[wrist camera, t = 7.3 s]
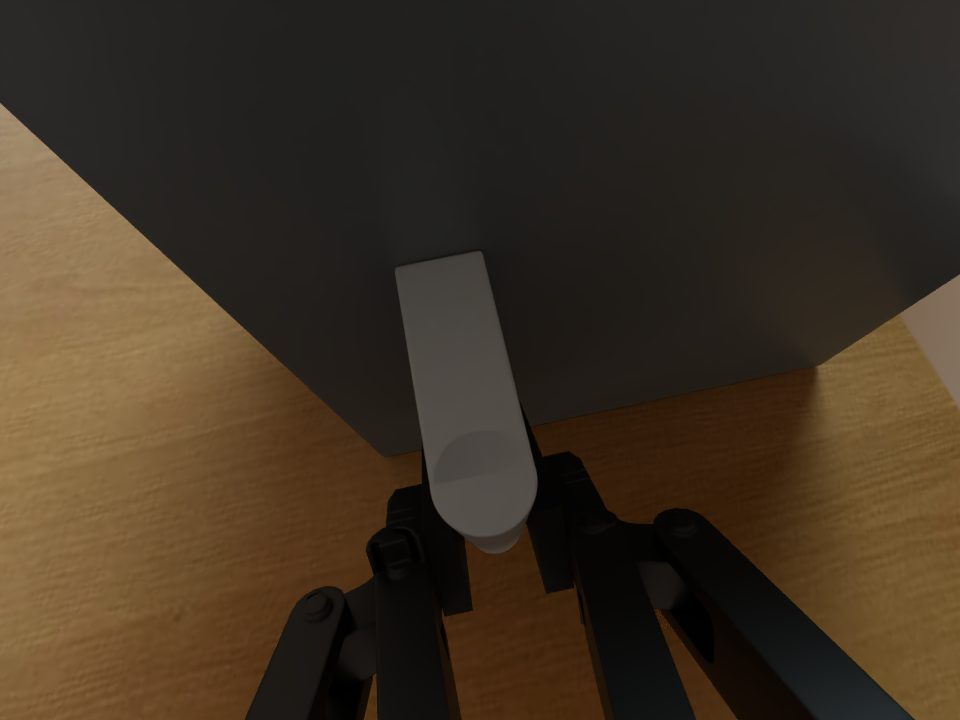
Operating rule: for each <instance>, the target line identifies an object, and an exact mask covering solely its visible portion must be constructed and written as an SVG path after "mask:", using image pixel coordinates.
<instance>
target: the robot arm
mask: <svg viewBox="0 0 960 720" xmlns="http://www.w3.org/2000/svg"><path fill="white" fill-rule="evenodd" d="M518 399H519V398H518ZM519 403H520V400H519ZM520 407H521V411H522V415H523V419H524V423H525V427H526V432H527V436H528V440H529V444H530V448H531V452H532V456H533V460H534V464H535V468H536V472H537V481H538V485H537V493H536V498H535V500H534V503H533V506H532V508H531V511H530V513H529V515H528V518H527V520H526V525H527V528H528V532H529V535H530V539H531V542H532V546H533V549H534V553H535V556H536V560H537V563H538V566H539V570H540V573H541V577H542V580H543V584H544V587H545V591H546V594H549V593H553V592H558V591H562V590H567V589H571V588H574V583H573V579H574V582H575V585H576V588H577V595H578V603H579V610H580V617H581V624H583V625H584V629H585V634H586V638H587V643H588V647H589V652H590V656H591V660H592V665H593V669H594V674H595V678H596V683H597V687H598V691H599V696H600V700H601V705H602V709H603V714H604V718H605V720H696V718H695V715H694V713H693V710H692V708H691V705H690V702H689V700H688V697H687V695H686V692H685V689H684V687H683V684H682V682H681V679H680V676H679V674H678V671H677V669H676V666H675V663H674V661H673V658H672V656H671V653H670V650H669V648H668V645H667V643H666V640H665V637H664V635H663V632H662V630H661V627H660V624H659V622H658V619H657V617H656V614H655V611H654V609H653V608H655V609H660V611H661V613H662V614H663V616H664V617H665V619H666V620H667V621H668V623H669V624H670V625H671V627H672V628H673V630H674V631H675V632H676V634H677V635H678V637H679V638H680V639H681V641H682V642H683V644H684V645H685V646H686V648H687V649H688V651H689V652H690V653H691V655H692V656H693V658H694V659H695V660H696V662H697V663H698V665H699V666H700V667H701V669H702V670H703V672H704V673H705V674H706V676H707V677H708V679H709V680H710V681H711V683H712V684H713V686H714V687H715V688H716V690H717V691H718V692H719V694H720V695H721V697H722V698H723V699H724V701H725V702H726V704H727V705H728V706H729V708H730V709H731V711H732V712H733V713H734V715H735V716H736V718H737V719H738V720H915V719H914V718H912V717H911V716H910V715H909V714H908V713H907V712H906V711H905V710H904V709H903V708H902V707H901V706H900V705H899V704H898V703H897V702H896V701H895V700H894V699H893V698H892V697H891V696H890V695H889V694H888V693H886V692H885V691H884V690H883V689H882V688H881V687H880V686H879V685H878V684H877V683H876V682H875V681H874V680H873V679H872V678H871V677H870V676H869V675H868V674H867V673H866V672H865V671H864V670H863V669H862V668H861V667H859V666H858V665H857V664H856V663H855V662H854V661H853V660H852V659H851V658H850V657H849V656H848V655H847V654H846V653H845V652H844V651H843V650H842V649H841V648H840V647H839V646H838V645H837V644H836V643H835V642H833V641H832V640H831V639H830V638H829V637H828V636H827V635H826V634H825V633H824V632H823V631H822V630H821V629H820V628H819V627H818V626H817V625H816V624H815V623H814V622H813V621H812V620H811V619H810V618H809V617H808V616H806V615H805V614H804V613H803V612H802V611H801V610H800V609H799V608H798V607H797V606H796V605H795V604H794V603H793V602H792V601H791V600H790V599H789V598H788V597H787V596H786V595H785V594H784V593H783V592H782V591H781V590H779V589H778V588H777V587H776V586H775V585H774V584H773V583H772V582H771V581H770V580H769V579H768V578H767V577H766V576H765V575H764V574H763V573H762V572H761V571H760V570H759V569H758V568H757V567H756V566H755V565H753V564H752V563H751V562H750V561H749V560H748V559H747V558H746V557H745V556H744V555H743V554H742V553H741V552H740V551H739V550H738V549H737V548H736V547H735V546H734V545H733V544H732V543H731V542H730V541H729V540H728V539H726V538H725V537H724V536H723V535H722V534H721V533H720V532H719V531H718V530H717V529H716V528H715V527H714V526H713V525H712V524H711V523H710V522H709V521H708V520H707V519H706V518H704V517H703V516H701V515H700V514H699V513H697V512H694V511H691V510H688V509H679V508H674V509H669V510H665V511H663V512H661V513H659V514H658V515H657V517H656V518H655V519H654V524H634V523H628V522H624V521H621V520H619V519H618V518H617V516H616V515H615V514H614V513H612V512H610V511H609V510H607V509H606V507H605V505H604V503H603V501H602V499H601V497H600V495H599V494H598V492H597V490H596V488H595V486H594V484H593V482H592V480H591V479H590V477H589V475H588V473H587V471H586V469H585V467H584V465H583V463H582V461H581V460H580V458H578V457H577V456H575V455H574V454H572V453H571V452H569V451H568V452H563V453H558V454H554V455H549V456H544V457H542V454H541V452H540V449H539V447H538V445H537V442H536V440H535V437H534V435H533V432H532V430H531V427H530V425H529V422H528V420H527V417H526V415H525V413H524V410H523V408H522V405H521V403H520ZM366 553H367V556H368V559H369V562H370V565H371V568H372V571H373V573H374V576H373V577H372V578H371V579H370V580H369V581H367V582H366V583H365V584H363V585H361V586H360V587H358V588H356V589H354V590H352V591H349V592H347V593H345V594H343V592H342V590H340V589H338V588H337V587H331V586H325V587H321V588H318V589H315V590H313V591H311V592H309V593H308V594H306V595H305V596H304V597H303V598H301V599H300V600H299V601H298V602H297V603H296V605H295V607H294V608H293V610H292V611H291V614H290V616H289V618H288V621H287V623H286V625H285V627H284V630H283V632H282V634H281V637H280V639H279V641H278V644H277V646H276V648H275V650H274V653H273V655H272V657H271V660H270V662H269V664H268V667H267V669H266V671H265V674H264V676H263V678H262V680H261V683H260V685H259V687H258V690H257V692H256V694H255V697H254V699H253V701H252V704H251V706H250V708H249V710H248V713H247V715H246V717H245V720H364V716H365V711H366V707H367V703H368V698H369V694H370V689H371V685H372V681H373V675H374V674H376V673H377V714H378V720H461V714H460V708H459V703H458V697H457V691H456V686H455V680H454V674H453V669H452V663H451V657H450V652H449V646H448V640H447V635H446V631H445V627H444V623H443V620H442V609H443V613H444V616H445V617H446V616H451V615H455V614H460V613H464V612H468V611H473V609H472V600H471V591H470V583H469V574H468V566H467V557H466V548H465V540H464V536H462V535H461V534H460V533H459V532H457V531H456V530H455V529H454V528H452V527H451V526H450V525H449V524H447V523H446V521H445V520H444V519H443V518H442V517H441V516H440V514H439V513H438V511H437V509H436V507H435V505H434V503H433V500H432V496H431V492H430V484H429V478H428V472H427V466H426V460H425V454H424V448H423V441H422V484H419V485H415V486H410V487H405V488H401V489H396V490H395V491H394V493H393V494H392V496H391V497H390V499H389V501H388V507H387V518H386V527H385V528H383V529H381V530H380V531H378V532H377V533H376V534H374V535H373V536H372V537H371V539H370V540H369V541H368V543H367V547H366Z"/></svg>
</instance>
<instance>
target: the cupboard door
mask: <svg viewBox="0 0 960 720" xmlns="http://www.w3.org/2000/svg"><path fill="white" fill-rule="evenodd" d="M0 103H1V104H2V105H3V106H4V107H5V108H6V109H7V110H8V111H10V112H11V113H12V114H13V115H14V116H15V117H16V118H17V119H18V120H19V121H20V122H21V123H23V124H24V125H25V126H26V127H27V128H28V129H29V130H30V131H31V132H32V133H33V134H34V135H36V136H37V137H38V138H39V139H40V140H41V141H42V142H43V143H44V144H45V145H46V146H47V147H49V148H50V149H51V150H52V151H53V152H54V153H55V154H56V155H57V156H58V157H59V158H60V159H62V160H63V161H64V162H65V163H66V164H67V165H68V166H69V167H70V168H71V169H72V170H73V171H74V172H76V173H77V174H78V175H79V176H80V177H81V178H82V179H83V180H84V181H85V182H86V183H87V184H89V185H90V186H91V187H92V188H93V189H94V190H95V191H96V192H97V193H98V194H99V195H100V196H102V197H103V198H104V199H105V200H106V201H107V202H108V203H109V204H110V205H111V206H112V207H113V208H115V209H116V210H117V211H118V212H119V213H120V214H121V215H122V216H123V217H124V218H125V219H126V220H128V221H129V222H130V223H131V224H132V225H133V226H134V227H135V228H136V229H137V230H138V231H139V232H141V233H142V234H143V235H144V236H145V237H146V238H147V239H148V240H149V241H150V242H151V243H152V244H153V245H155V246H156V247H157V248H158V249H159V250H160V251H161V252H162V253H163V254H164V255H165V256H166V257H168V258H169V259H170V260H171V261H172V262H173V263H174V264H175V265H176V266H177V267H178V268H179V269H181V270H182V271H183V272H184V273H185V274H186V275H187V276H188V277H189V278H190V279H191V280H192V281H194V282H195V283H196V284H197V285H198V286H199V287H200V288H201V289H202V290H203V291H204V292H205V293H207V294H208V295H209V296H210V297H211V298H212V299H213V300H214V301H215V302H216V303H217V304H218V305H220V306H221V307H222V308H223V309H224V310H225V311H226V312H227V313H228V314H229V315H230V316H231V317H232V318H234V319H235V320H236V321H237V322H238V323H239V324H240V325H241V326H242V327H243V328H244V329H245V330H247V331H248V332H249V333H250V334H251V335H252V336H253V337H254V338H255V339H256V340H257V341H258V342H260V343H261V344H262V345H263V346H264V347H265V348H266V349H267V350H268V351H269V352H270V353H271V354H273V355H274V356H275V357H276V358H277V359H278V360H279V361H280V362H281V363H282V364H283V365H284V366H286V367H287V368H288V369H289V370H290V371H291V372H292V373H293V374H294V375H295V376H296V377H297V378H299V379H300V380H301V381H302V382H303V383H304V384H305V385H306V386H307V387H308V388H309V389H310V390H311V391H313V392H314V393H315V394H316V395H317V396H318V397H319V398H320V399H321V400H322V401H323V402H324V403H326V404H327V405H328V406H329V407H330V408H331V409H332V410H333V411H334V412H335V413H336V414H337V415H339V416H340V417H341V418H342V419H343V420H344V421H345V422H346V423H347V424H348V425H349V426H350V427H352V428H353V429H354V430H355V431H356V432H357V433H358V434H359V435H360V436H361V437H362V438H363V439H365V440H366V441H367V442H368V443H369V444H370V445H371V446H372V447H373V448H374V449H375V450H376V451H378V452H379V453H380V454H381V455H382V456H383V457H389V456H394V455H399V454H403V453H408V452H413V451H418V450H422V441H423V448H424V454H425V460H426V466H427V472H428V478H429V484H430V492H431V496H432V500H433V503H434V505H435V507H436V509H437V511H438V513H439V514H440V516H441V517H442V518H443V519H444V520H445V521H446V523H447V524H449V525H450V526H451V527H452V528H454V529H455V530H456V531H457V532H459V533H460V534H461V535H462V536H464V537H465V538H466V539H467V540H469V541H470V542H471V543H472V544H474V545H475V546H476V547H478V548H479V549H480V550H482V551H484V552H487V553H491V554H498V553H503V552H505V551H507V550H509V549H510V548H512V547H513V546H514V545H515V544H516V542H517V541H518V539H519V537H520V534H521V532H522V530H523V527H524V525H525V523H526V520H527V518H528V515H529V513H530V511H531V508H532V506H533V503H534V500H535V498H536V493H537V485H538V481H537V472H536V468H535V464H534V460H533V456H532V452H531V448H530V444H529V440H528V436H527V432H526V427H525V423H524V419H523V415H522V411H521V407H520V403H521V405H522V408H523V410H524V413H525V415H526V417H527V420H528V422H529V425H530V427H531V426H535V425H540V424H545V423H549V422H554V421H559V420H564V419H568V418H573V417H578V416H582V415H587V414H592V413H596V412H601V411H606V410H611V409H615V408H620V407H625V406H629V405H634V404H639V403H644V402H648V401H653V400H658V399H662V398H667V397H672V396H677V395H681V394H686V393H691V392H695V391H700V390H705V389H709V388H714V387H719V386H724V385H728V384H733V383H738V382H742V381H747V380H752V379H757V378H761V377H766V376H771V375H775V374H780V373H785V372H790V371H794V370H799V369H804V368H808V367H813V366H818V365H821V364H823V363H824V362H826V361H827V360H829V359H830V358H832V357H833V356H835V355H836V354H838V353H840V352H841V351H843V350H844V349H846V348H847V347H849V346H850V345H852V344H853V343H855V342H856V341H858V340H859V339H861V338H863V337H864V336H866V335H867V334H869V333H870V332H872V331H873V330H875V329H876V328H878V327H879V326H881V325H883V324H884V323H886V322H887V321H889V320H890V319H892V318H893V317H895V316H896V315H898V314H899V313H901V312H902V311H904V310H906V309H907V308H909V307H910V306H912V305H913V304H915V303H916V302H918V301H919V300H921V299H922V298H924V297H926V296H927V295H929V294H930V293H932V292H933V291H935V290H936V289H938V288H939V287H941V286H942V285H944V284H946V283H947V282H949V281H950V280H951V279H953V278H954V277H956V276H958V275H959V274H960V0H0ZM518 398H519V399H518ZM519 400H520V403H519Z"/></svg>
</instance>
